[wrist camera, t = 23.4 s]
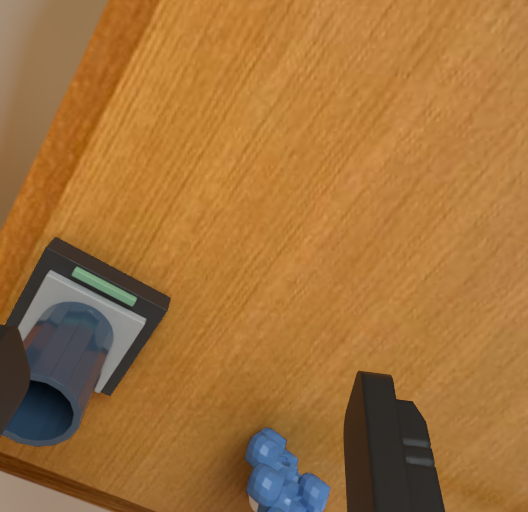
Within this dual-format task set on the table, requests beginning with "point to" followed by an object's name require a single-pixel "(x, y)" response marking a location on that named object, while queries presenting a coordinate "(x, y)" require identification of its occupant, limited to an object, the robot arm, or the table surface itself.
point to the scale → (93, 303)
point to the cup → (61, 373)
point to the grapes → (281, 477)
